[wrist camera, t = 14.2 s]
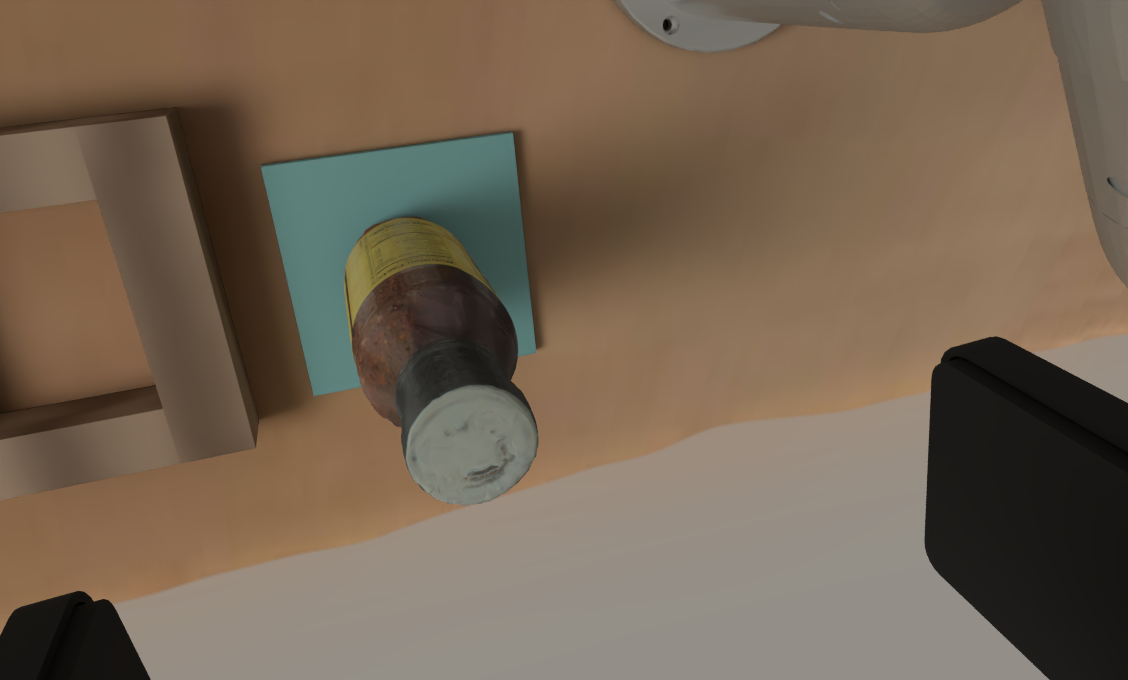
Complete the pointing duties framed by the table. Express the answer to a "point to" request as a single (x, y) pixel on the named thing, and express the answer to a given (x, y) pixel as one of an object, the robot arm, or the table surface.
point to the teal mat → (378, 193)
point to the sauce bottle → (438, 360)
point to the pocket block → (132, 306)
